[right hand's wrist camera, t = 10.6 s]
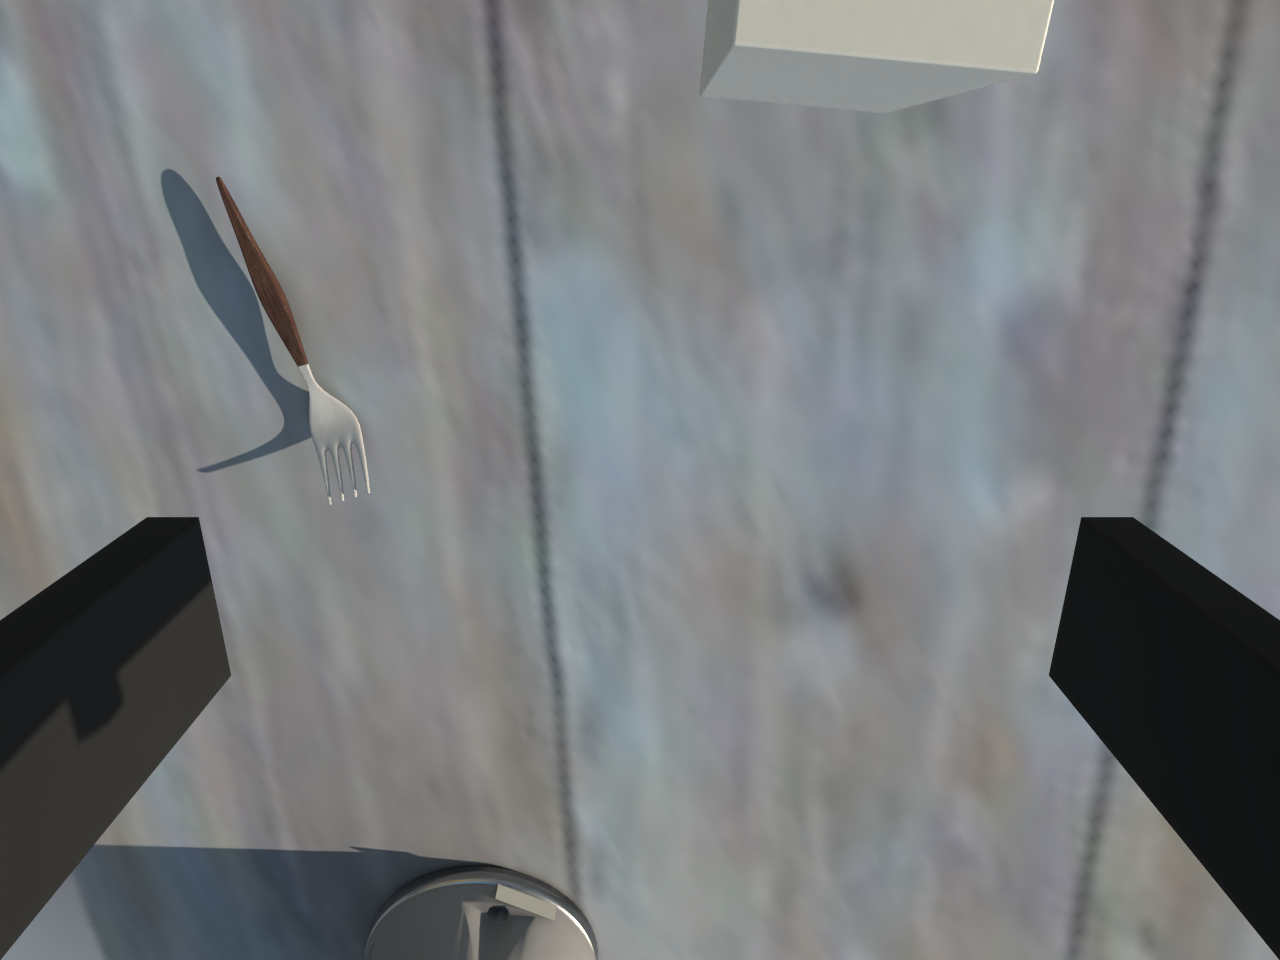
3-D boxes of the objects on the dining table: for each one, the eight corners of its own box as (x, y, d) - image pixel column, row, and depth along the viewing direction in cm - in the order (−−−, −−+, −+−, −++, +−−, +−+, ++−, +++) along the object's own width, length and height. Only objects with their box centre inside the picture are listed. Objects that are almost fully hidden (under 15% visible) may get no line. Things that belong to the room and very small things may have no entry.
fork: (249, 168, 38) (228, 168, 36) (384, 478, 43) (373, 492, 41) (197, 185, 38) (174, 186, 36) (339, 492, 43) (325, 506, 42)
